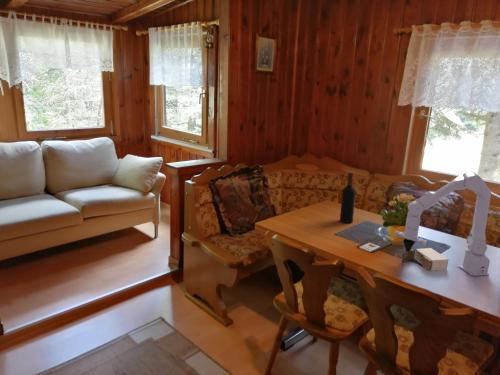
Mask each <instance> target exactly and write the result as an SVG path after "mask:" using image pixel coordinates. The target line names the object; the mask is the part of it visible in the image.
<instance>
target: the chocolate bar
mask: <svg viewBox="0 0 500 375" xmlns="http://www.w3.org/2000/svg"><path fill="white" fill-rule="evenodd" d="M391 244H392V245H393V243H392V242H390V241H386V240H384V239H380V238H379V237H375V238H372V239H371V240H368V241H366V242H363V243H360V244H358V245H357V246H356V248H359V249H361V250H363V251H366V252H368V251H369V253H371V254H374V253H377V252H378V251H380V249H381V250H383V249H385V248H387V247H389V246H391ZM384 247H385V248H384ZM382 248H383V249H382Z"/></svg>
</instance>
